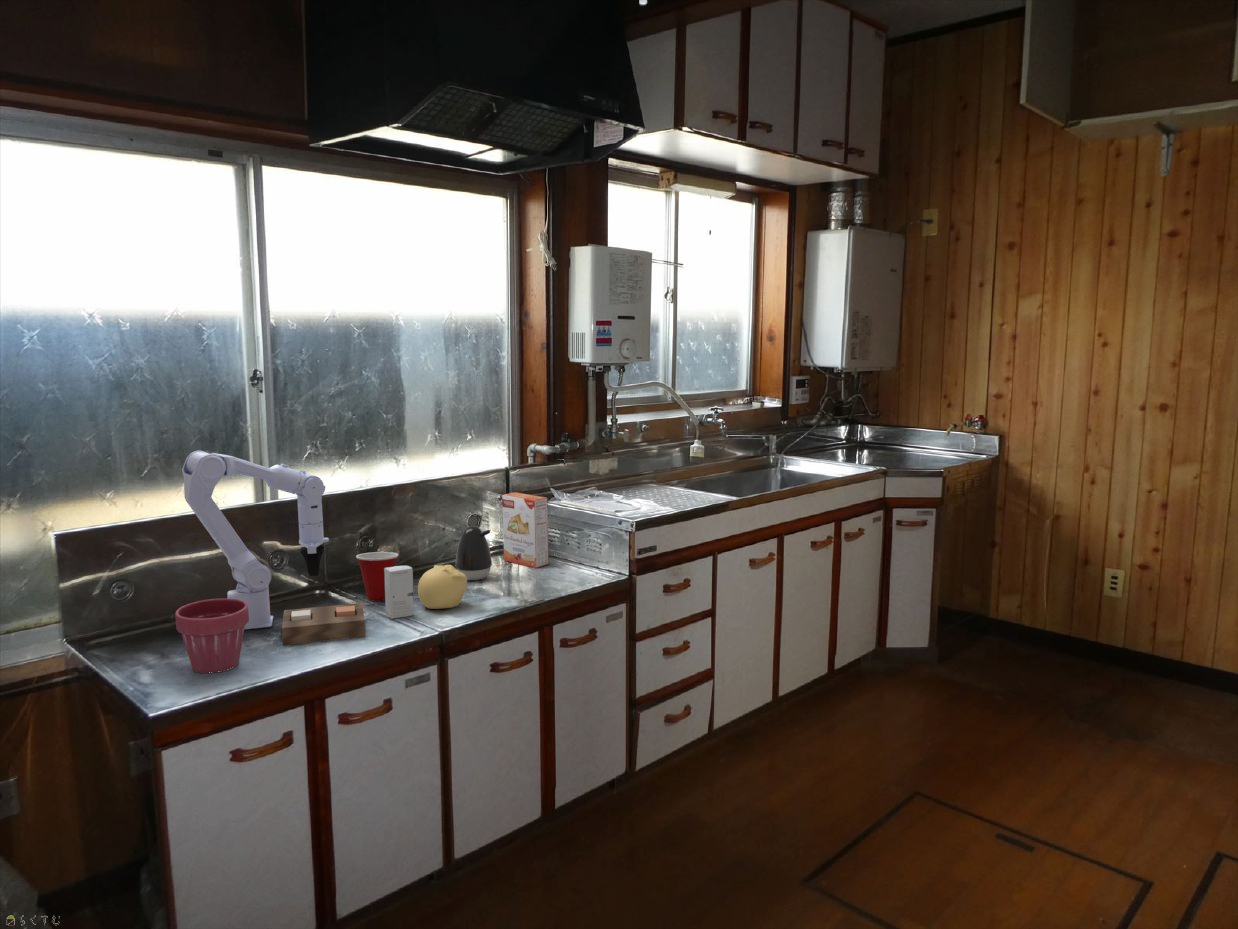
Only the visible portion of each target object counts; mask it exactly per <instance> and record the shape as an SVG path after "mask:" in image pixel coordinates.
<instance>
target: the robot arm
mask: <svg viewBox="0 0 1238 929" xmlns="http://www.w3.org/2000/svg"><path fill="white" fill-rule="evenodd" d="M181 472H182V475H183V489H184V490H183V491H184V492H183V493H184V499H185V501H186V503H187V504H188V506H189V507H190V508H191V510H192V512H193V513H194V515H196V517H197V518H198V520H199V521H200V523H201V524H202V526H203V527H204V529H205V530H206V531H207V533H209V535H210V537H211V538H212V540H214V542H215V543H216V545H217V546H218V548H219V549H220V551H221V552H222V553H223V555H224V557H226V559H227V563H228V565H229V567H230V569H231V575H232V577H233V579H234V580H235V581H236V582H237V584H236V587H235V589H232V590H228V591H227V593H226V594H227V598H226V599H238V600H242V601H245V602H246V603H247V604H248V612H249V621H248V623H247V624H246V625H245V627H244V630H251V629H263V628H271V627H272V626H273V620H274V615H271V605H270V590H269V589H270V588H269V585H270V583H271V580H272V572H271V570H270V568H269V567H268V566H266V565H265V564H262V563H261V562H260V561H259V559H257V558H256V556H255V555H254V554H253V553H252V552H251V551H250V550H249V549H248V548H247V546H246V545H245V543H244V542H243V541H242V539H241V537H240V536H239V535H238V533H237V532H236V531H235V529H234V528H233V526H232V524H231V523H230V522H229V520H228V519H227V518H226V516H225V515H224V513H223V512H222V510H221V509H220V507H219V506H218V504H216V502H215V501H214V499H213V498H212V496H213V493H214V490H215V487H216V486H217V484H218V483H219V482H220V481H221V480H222V478H223V476H226V477H229V476H231V475H233V474H238V475H240V474H241V475H243V476H248V477H252V478H256V479H260V480H262V481H263V480H264V481H265V483H266V485H267V487H269V488H271V489H275V490H278V491H281V492H285V493H288V494H292V495H296V497H297V513H298V514H297V516H298V534H299V540H298V544H299V545H301V547H300V549H299V550H300V554H301V555H302V557H303V559H304V561H305V565H306V569H307V573H308V575H309V577H314V576H316V577H317V576H319V573H320V567H321V566H320V564H321V559H322V556H323V553H324V551H325V545H324V543H328V542H329V541H330V538H329V537H324V517H323V516H324V515H323V503H322V502H323V501H322V496H324V494H325V493H326V492H325V491H326V485H325V484H324V482H323V479H321V478H320V477H318V476H316V475H313V474H310V473H307V472H306V471H305V470H303V469H300V470H296V469H292V468H290V467H289V465H288V464H284V463H280V464H275V465H273V466H270V467H267V466H263V465H261V464H259V463H258V464H257V463H254V462H251V461H248V460H245V459H242V458H239V457H236V456H232V455H228V454H224V453H223V454H222V453H215V452H210V453H208V452H207V451H204V450H195V451H193V452H190V453H189V455H187V457H186V459H185V461H184V463H183V466H182V468H181Z"/></svg>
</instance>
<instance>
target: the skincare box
mask: <svg viewBox="0 0 1238 929" xmlns="http://www.w3.org/2000/svg"><path fill="white" fill-rule="evenodd" d="M384 572H385V600H384V602H385V605H384V606H385V615H386V617H388V618H389V619H390V620H392V619H400V618H405V617H411V616H414V614H415V610H414V608H415V607H414V576H413V574H414V573H413V572H414V571H413V567H412V566H409V565H395V566H394V567H388V568H384Z"/></svg>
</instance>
